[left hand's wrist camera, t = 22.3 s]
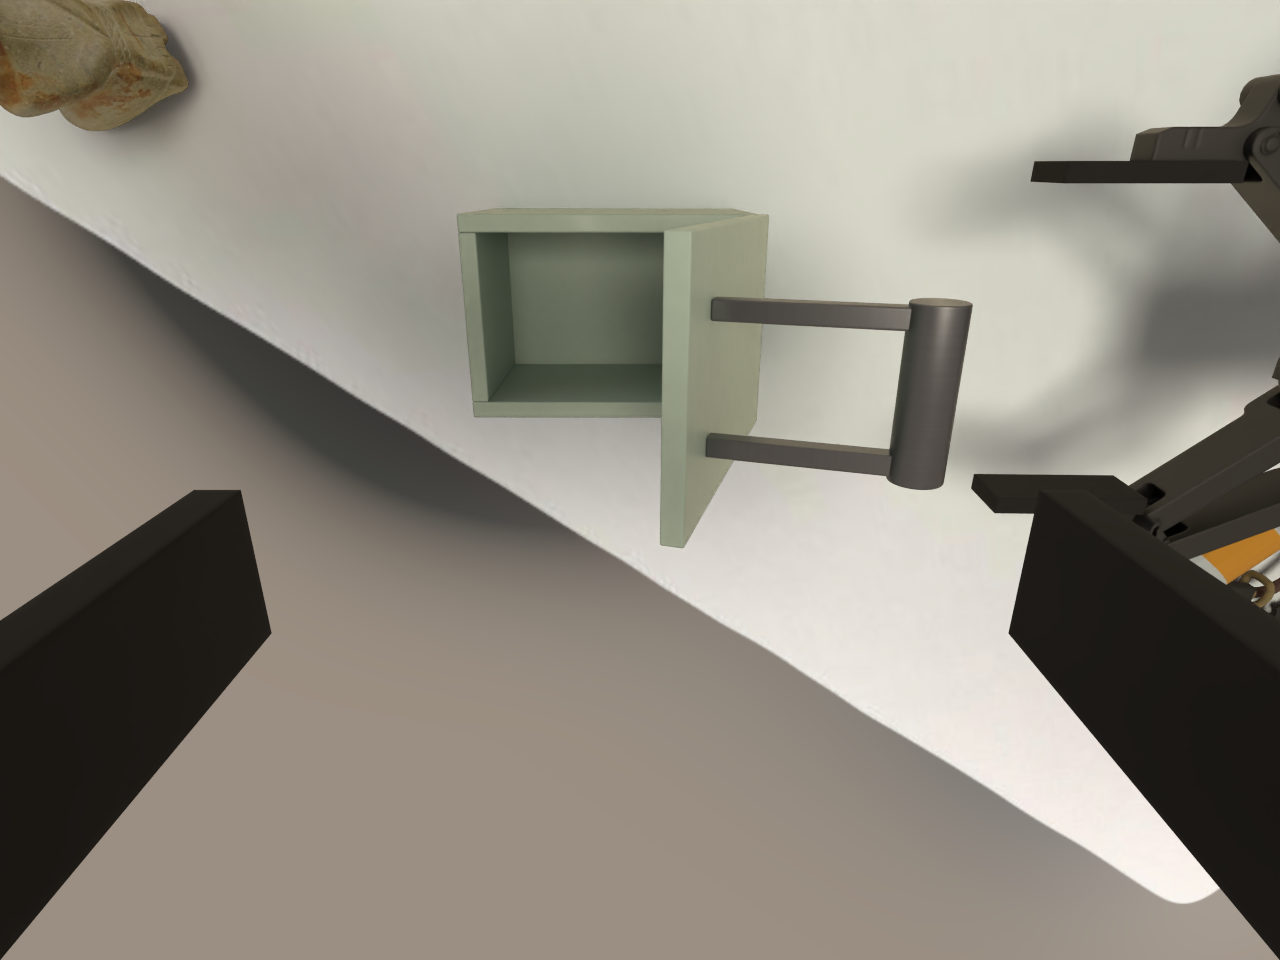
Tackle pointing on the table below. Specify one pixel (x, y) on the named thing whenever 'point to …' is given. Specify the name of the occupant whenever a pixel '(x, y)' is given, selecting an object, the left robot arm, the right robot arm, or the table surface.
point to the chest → (567, 308)
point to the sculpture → (84, 61)
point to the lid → (730, 363)
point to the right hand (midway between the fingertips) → (1012, 346)
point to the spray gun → (1245, 566)
